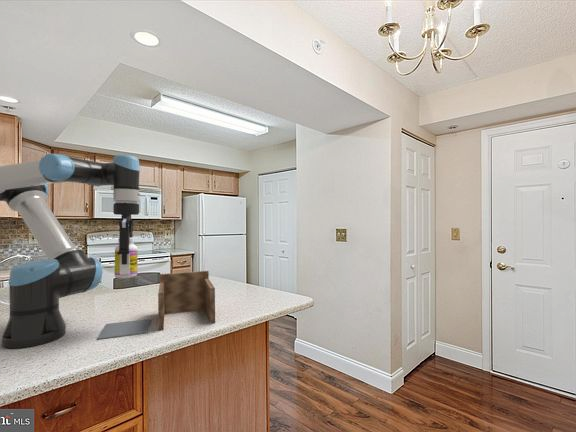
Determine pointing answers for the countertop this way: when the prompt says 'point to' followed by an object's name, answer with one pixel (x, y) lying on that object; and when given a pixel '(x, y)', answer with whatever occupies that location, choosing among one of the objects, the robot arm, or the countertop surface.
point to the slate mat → (125, 329)
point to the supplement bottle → (133, 260)
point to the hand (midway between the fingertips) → (126, 272)
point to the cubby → (185, 294)
